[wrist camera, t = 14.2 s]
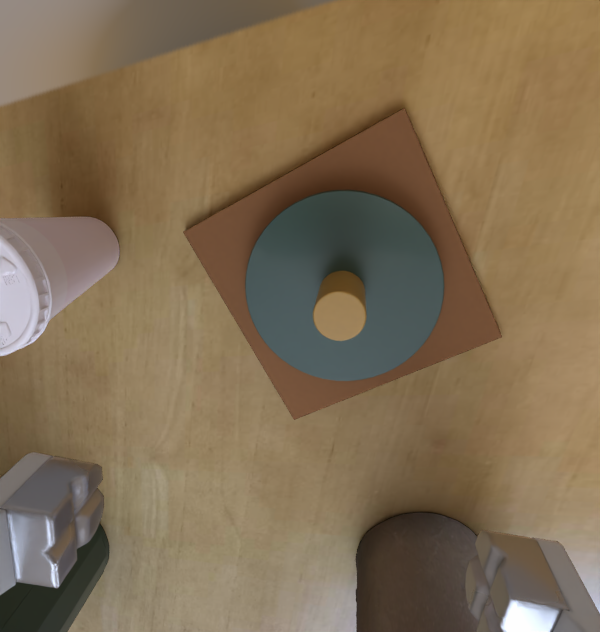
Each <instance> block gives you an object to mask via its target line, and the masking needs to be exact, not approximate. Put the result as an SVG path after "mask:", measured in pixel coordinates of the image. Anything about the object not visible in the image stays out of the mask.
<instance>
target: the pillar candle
mask: <svg viewBox="0 0 600 632" xmlns="http://www.w3.org/2000/svg"><path fill="white" fill-rule="evenodd" d="M476 540H477V536H476V535H475V534H474V533H473V532H472V531H471V530H470V529H469V528H468V527H466V526H465V525H463V524H461V523H460V522H458V521H456V520H454V519H451V518H448V517H445V516H442V515H439V514H434V513H414V514H413V513H409V514H404V515H399V516H396V517H393V518H390V519H388V520H386V521H384V522H382V523H380V524H378V525H377V526H375V527H374V528H372V529H371V530H370V531H369V532H367V533H366V534H365V535H364V537H363V539H362V540H361V542H360V544H359V547H358V549H357V552H358V553H357V554H356V555H357V556H356V567H357V589H356V602H357V614H356V617H357V632H476V629H477V626H478V623H479V621H478V620H477V619H476V618H475V617H474V616H473V614H472V613H471V612H470V611H469V607H468V603H467V598H466V589H465V582H466V571H467V568H468V564H469V561H470V560H471V559H472V558H474V557H475V556H477V555H478V552H477V549H476V545H475V543H476Z"/></svg>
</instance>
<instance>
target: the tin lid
mask: <svg viewBox="0 0 600 632" xmlns="http://www.w3.org/2000/svg"><path fill="white" fill-rule="evenodd" d="M245 292H246V301H247V305H248V310H249V313H250V316H251V319H252V321H253V323H254V325H255V327H256V329H257V331H258V333H259V335H260V336H261V337H262V339H263V340H264V342H265V343H266V344H267V345H268V347H269V348H270V349H271V350H272V351H273V352H274V353H275V354H276V355H277V356H278V357H280V358H281V359H282V360H283V361H285V362H286V363H288V364H289V365H290V366H292V367H294V368H296V369H298V370H300V371H302V372H304V373H307V374H309V375H312V376H315V377H319V378H322V379H328V380H335V381H354V380H362V379H367V378H372V377H375V376H378V375H381V374H384V373H386V372H388V371H390V370H392V369H394V368H396V367H398V366H399V365H401V364H402V363H404V362H405V361H407V360H408V359H409V358H410V357H411V356H413V355H414V354H415V353H416V352H417V351H418V350H419V349H420V348H421V346H422V345H423V344H424V343H425V341H426V340H427V339H428V337H429V336H430V334H431V332H432V331H433V329H434V327H435V325H436V323H437V320H438V318H439V315H440V312H441V308H442V303H443V298H444V273H443V269H442V264H441V260H440V257H439V254H438V251H437V249H436V247H435V245H434V243H433V241H432V239H431V237H430V236H429V234H428V233H427V232H426V230H425V229H424V228H423V226H422V225H421V224H420V223H419V222H418V221H417V220H416V219H415V218H414V217H413V216H412V215H411V214H410V213H409V212H407V211H406V210H405V209H404V208H402V207H401V206H399V205H398V204H396V203H394V202H392V201H391V200H389V199H386V198H384V197H381V196H379V195H376V194H372V193H369V192H365V191H358V190H332V191H325V192H320V193H317V194H314V195H310V196H308V197H306V198H303V199H301V200H299V201H297V202H295V203H294V204H292V205H290V206H289V207H287V208H286V209H284V210H283V211H282V212H281V213H280V214H278V215H277V216H276V217H275V218H274V219H273V220H272V221H271V222H270V223H269V224H268V225H267V226H266V228H265V229H264V230H263V232H262V233H261V235H260V236H259V238H258V239H257V241H256V243H255V245H254V247H253V249H252V252H251V255H250V258H249V261H248V265H247V270H246V279H245Z"/></svg>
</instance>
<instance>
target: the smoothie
mask: <svg viewBox="0 0 600 632" xmlns="http://www.w3.org/2000/svg"><path fill="white" fill-rule="evenodd" d="M119 253H120V249H119V243H118V240H117V238H116V236H115V234H114V232H113V231H112V230H111V228H110V227H109V226H108V225H106V224H105V223H104V222H102V221H101V220H99V219H96V218H93V217H45V218H0V356H4V355H7V354H10V353H12V352H14V351H16V350H18V349H21V348H23V347H25V346H27V345H29V344H31V343H33V342H34V341H35V340H36V339H37V338H38V337H39V336H40V335H41V334H42V333H43V332H44V330H45V328H46V326H47V324H48V322H49V320H50V319H52V318H53V317H54V316H55V315H56V314H58V313H59V312H60V311H61V310H62V309H64V308H65V307H66V306H67V305H69V304H70V303H71V302H72V301H74V300H75V299H76V298H77V297H79V296H80V295H81V294H82V293H84V292H85V291H86V290H87V289H89V288H90V287H91V286H92V285H93V284H95V283H96V282H97V281H98V280H100V279H101V278H102V277H103V276H105V275H106V274H107V273H108V272H110V271H111V270H112V269H113V268H114V267H115V265H116V264H117V262H118V259H119Z"/></svg>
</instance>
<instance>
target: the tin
mask: <svg viewBox="0 0 600 632" xmlns="http://www.w3.org/2000/svg"><path fill="white" fill-rule="evenodd" d="M108 558H109V545H108V540H107V537H106V535H105V532H104V530H103V528H102V527H101V525H100V524H99V525H98V528H97V530H96V532H95V534H94V535H93V537H92V538H91V540H90V541H89V542H88V543H86V544H85V545H83V546H81V547H79V548H78V549H77V561H76V562H75V564H74V565H73V567H72V568H71V570H70V571H69V573H68V574H67V576H66V577H65V579H64V580H63V582H62V583H61V585H60V586H59V588H53V587H46V586H40V585H33V584H27V583H20V582H16V585H14V586H13V587H11V588H10V589H9V590H7V591H6V592H4V593H3V594H1V595H0V632H67V631H68V630H69V628H70V626H71V625H72V623H73V622H74V620H75V618H76V617H77V615H78V613H79V612H80V610H81V608H82V607H83V605H84V603H85V602H86V600H87V598H88V597H89V595H90V593H91V592H92V590H93V588H94V587H95V585H96V583H97V582H98V580H99V579H100V577H101V575H102V574H103V572H104V568H105V566H106V564H107V561H108Z"/></svg>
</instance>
